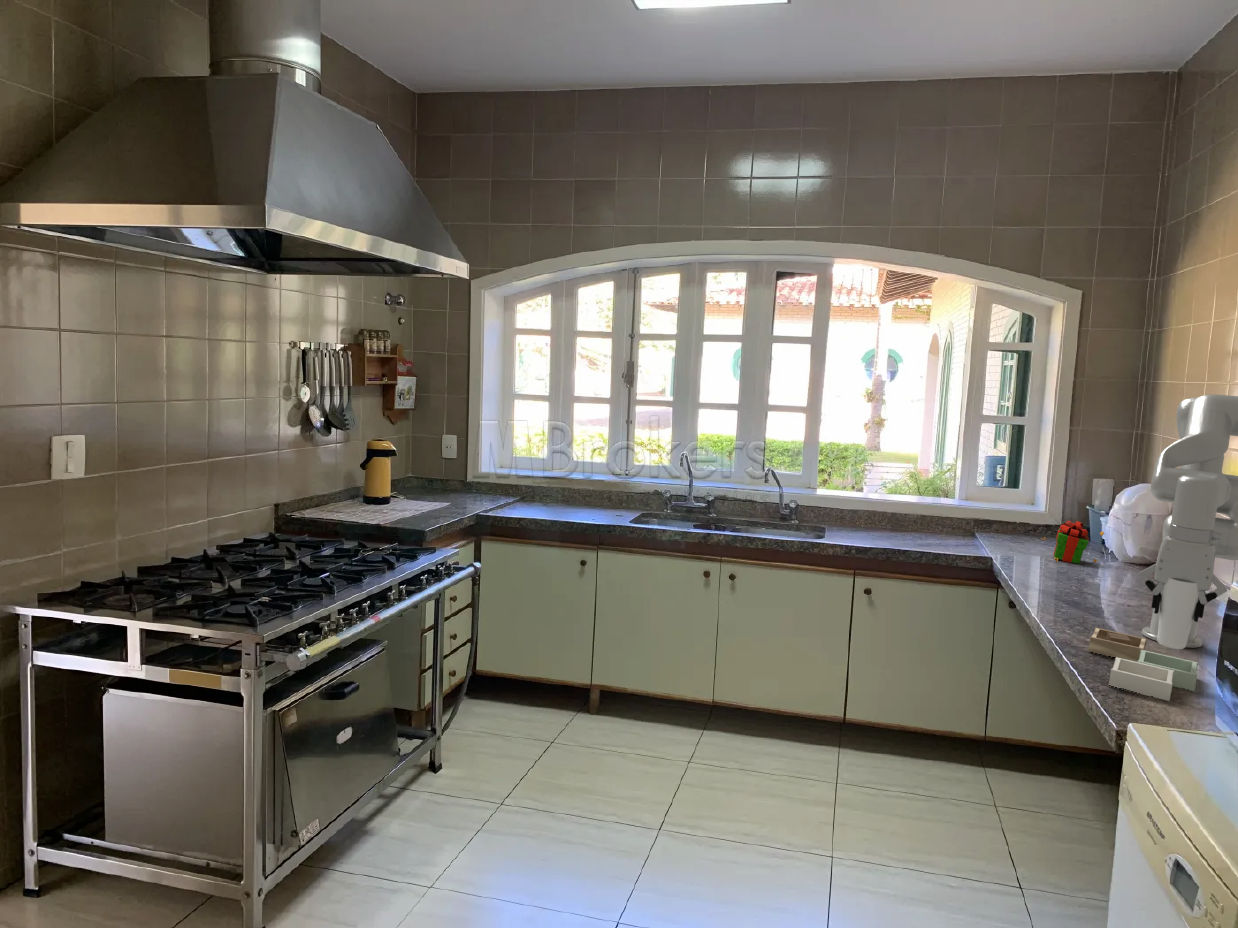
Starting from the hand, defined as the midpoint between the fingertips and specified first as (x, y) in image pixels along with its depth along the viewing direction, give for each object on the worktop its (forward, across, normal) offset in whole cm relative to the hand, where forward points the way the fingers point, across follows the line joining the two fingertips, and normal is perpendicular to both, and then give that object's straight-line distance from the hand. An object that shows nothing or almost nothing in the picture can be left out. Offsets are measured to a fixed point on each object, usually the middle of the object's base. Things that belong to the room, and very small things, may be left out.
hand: (1175, 615), depth 182 cm
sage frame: (+13, 0, +2) cm, 14 cm away
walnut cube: (+14, +10, -9) cm, 20 cm away
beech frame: (+14, +10, -9) cm, 20 cm away
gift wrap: (+19, +33, -117) cm, 123 cm away
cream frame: (+13, +4, +13) cm, 19 cm away
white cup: (+7, 0, 0) cm, 7 cm away
